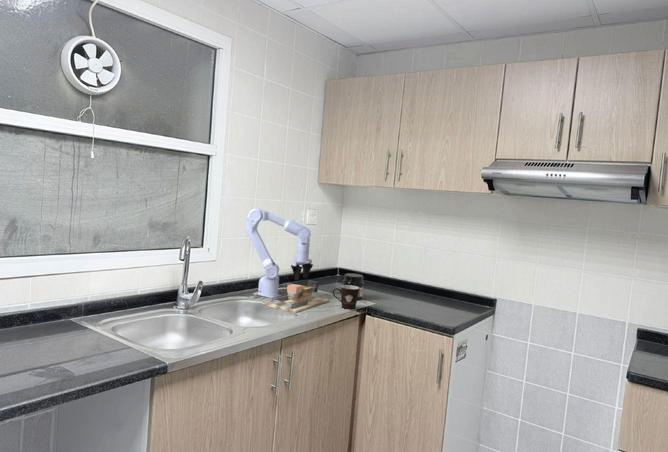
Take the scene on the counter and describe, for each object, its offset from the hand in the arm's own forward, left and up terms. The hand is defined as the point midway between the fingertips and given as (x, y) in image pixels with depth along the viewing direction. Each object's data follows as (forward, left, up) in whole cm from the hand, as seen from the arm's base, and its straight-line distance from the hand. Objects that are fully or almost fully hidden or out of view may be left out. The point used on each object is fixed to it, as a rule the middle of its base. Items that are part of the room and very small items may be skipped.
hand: (301, 279), depth 231 cm
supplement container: (+19, +20, -10) cm, 29 cm away
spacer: (+6, -14, -3) cm, 16 cm away
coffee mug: (+26, 0, -10) cm, 28 cm away
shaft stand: (+6, -10, -9) cm, 15 cm away
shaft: (+6, -7, -5) cm, 11 cm away
